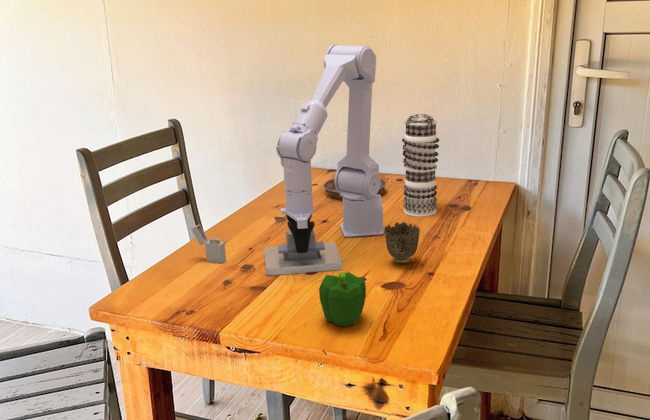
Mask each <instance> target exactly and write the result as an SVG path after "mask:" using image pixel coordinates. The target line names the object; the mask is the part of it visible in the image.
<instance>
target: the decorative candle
mask: <svg viewBox="0 0 650 420" xmlns="http://www.w3.org/2000/svg"><path fill="white" fill-rule="evenodd" d="M404 124H405V133H404V138H402V139H401V141H402V142H403V145H402V150H403V151H402V156H403V157H404V158H403V161H402V163H403V170H405V178H404V185H403V189H404V191H403V195H404V197H403V212H404V214H405V215H408V216H410V217H417V218H418V217H421V218H423V217H430V216H433V215H435V214H436V213H437V202H438V198H437V197H436V196H437V193H438V191H436V190H437V189H438V185H437V184H436V183H437V181H436V180H437V178H436V170H438V165H437V164H436V163H437V162H438V161H439V159H438V158H437V157H438V156H439V152H437V151H436V150H437V149H438V148H439V147H440V145H439V144H438V143H439V142H440V139H439V137H437V124H438V122H437V120H435V119H434V117H433V116H432V115H430V114H427V113H426V114H425V113H418V114H411V115H410V116H408V118H407V119H406V120H405V121H404Z"/></svg>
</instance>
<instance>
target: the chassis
mask: <svg viewBox="0 0 650 420" xmlns="http://www.w3.org/2000/svg"><path fill="white" fill-rule="evenodd" d="M324 246H325V250H318V251H316V259H311V260H298V261H288V256H287V253H281V254H278V245H277V246H267V247H265V246H264V247H263V253H264V254H263V255H264V262H265V265H264V266H265V276H267V277H268V276H278V275H279V276H280V275H291V274H293V275H294V274H303V273H307V274H308V273H317V272H331V271H342V270H343V261H342V257H341V255H340V253H339V250H338V246H337V245H336V242H335V241H332V242H324Z"/></svg>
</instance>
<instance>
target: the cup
mask: <svg viewBox="0 0 650 420" xmlns="http://www.w3.org/2000/svg"><path fill="white" fill-rule="evenodd" d="M383 232H384V235H385V245H386V250H387V252H388V254H389V255H390V256H391V257H393V263H395V264H396V265H398V266H405V265H409V264H410V263H411V261H412V257H414V255H415V254H416V252H417V251H418V247H419V239H420V232H421V228H420V227H419V225H417V223H416V224H414V225H413V223H409V224H408V223H407V222H405V221H402V222H401V223H399V222H395V223H394V226H391V224H387V226H384V228H383Z"/></svg>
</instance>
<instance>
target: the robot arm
mask: <svg viewBox="0 0 650 420" xmlns="http://www.w3.org/2000/svg"><path fill="white" fill-rule="evenodd" d="M376 66H377V55H376V54H375V52H374V50H373V49H372V47H370V46H369V45H338V44H332V45H330V46H329V47H328V48H327V50H326V53H325V56H323V67H324V69H323V72H322V75H321V76H320V79H319V81H318V84H317V86H316V89H315V91H314V92H313V96H312V98H311V100H308V101H305V102H303V104H302V106H301V107H300V109H299V111H298V113H297V115H296V117H295V118H294V120H293V122H292V124H291V126H290V128H289V129H288V131H285V132H283V133H282V134H280V136H279V137H278V140H277V144H276V147H275V150H276V154H277V156H278V157H279V159H280V165H281V167H282V168H283V181H284V196H285V197H284V198H285V199H284V201H285V207H281V208H280V214H281V215H285V218H286V219H287V226H288V227H287V228H288V230H290V231H291V232H292V235H293V237H294V241H295V246H296V250H297V253H307V251H308V246H309V239H310V235H311V232H312V230H314V228H315V225H316V223H315V221H311V219H312V217H313V214H314V212H315V208H314V204H313V202H314V200H313V182H312V178H313V177H312V159H313V158H314V156H315V155H316V153H317V148H318V147H317V145H318V144H317V142H318V141H319V137H318V135H319V133H320V131H321V130H322V128H323V126H324V124H325V122H326V120H327V118H328V111H327V106H328V105H329V103H330V102H331V100H332V98H333V97H334V96H335V94H336V93H337V91H338V90H339V88H340V86H341V85H342V83H343V82H344V83H345V85H346V86H348V107H347V108H348V112H347V133H346V136H347V137H346V138H347V139H346V153H345V154H346V155H345V156H344V157H343V158H341V159H340V160H339V161H338V162H337V166H336V167H337V168H336V172H335V175H334V178H333V179H334V183H335V187H336V189H337V190H338V191H339V192H340V196H343V199H342V216H343V217H342V219H343V221H342V223H341V224H339V228H340V230H341V232H342V235H343V237H344V238H352V237H353V238H354V237H367V236H378V235H379V236H381V235H385V231H384V205H383V204H384V203H383V199H382V198H383V197H382V195H381V194H380V193H379V194H377V192H378V191H379V188H380V183H381V180H380V179H381V177H380V176H381V175H380V172H379V171H380V169H379V168H380V167H379V166H380V165H379V164H378V162H376V161H375V160H374V159H373V158H372V157H371V156H370V142H371V141H370V139H371V120H372V119H371V118H372V103H373V83H375V81H376V69H377V67H376Z"/></svg>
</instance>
